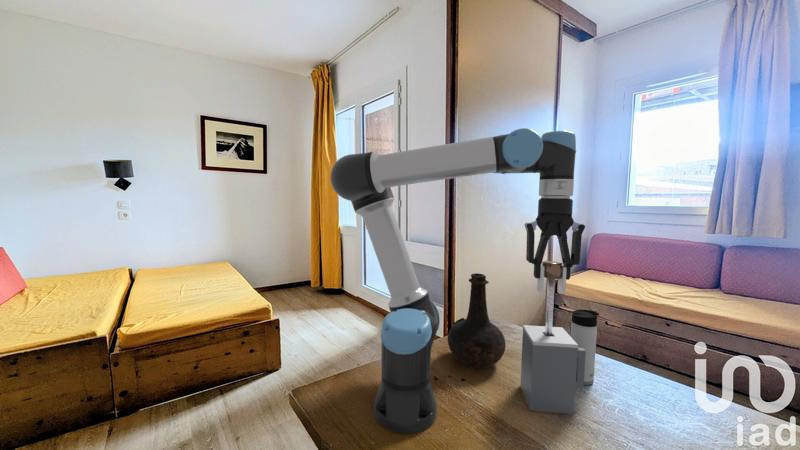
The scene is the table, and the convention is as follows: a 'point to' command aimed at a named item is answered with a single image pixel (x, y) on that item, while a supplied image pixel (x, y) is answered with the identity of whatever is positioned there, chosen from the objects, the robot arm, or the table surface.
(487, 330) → the glass bottle
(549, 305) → the plunger
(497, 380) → the table surface
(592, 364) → the travel mug
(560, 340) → the press
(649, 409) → the table surface
